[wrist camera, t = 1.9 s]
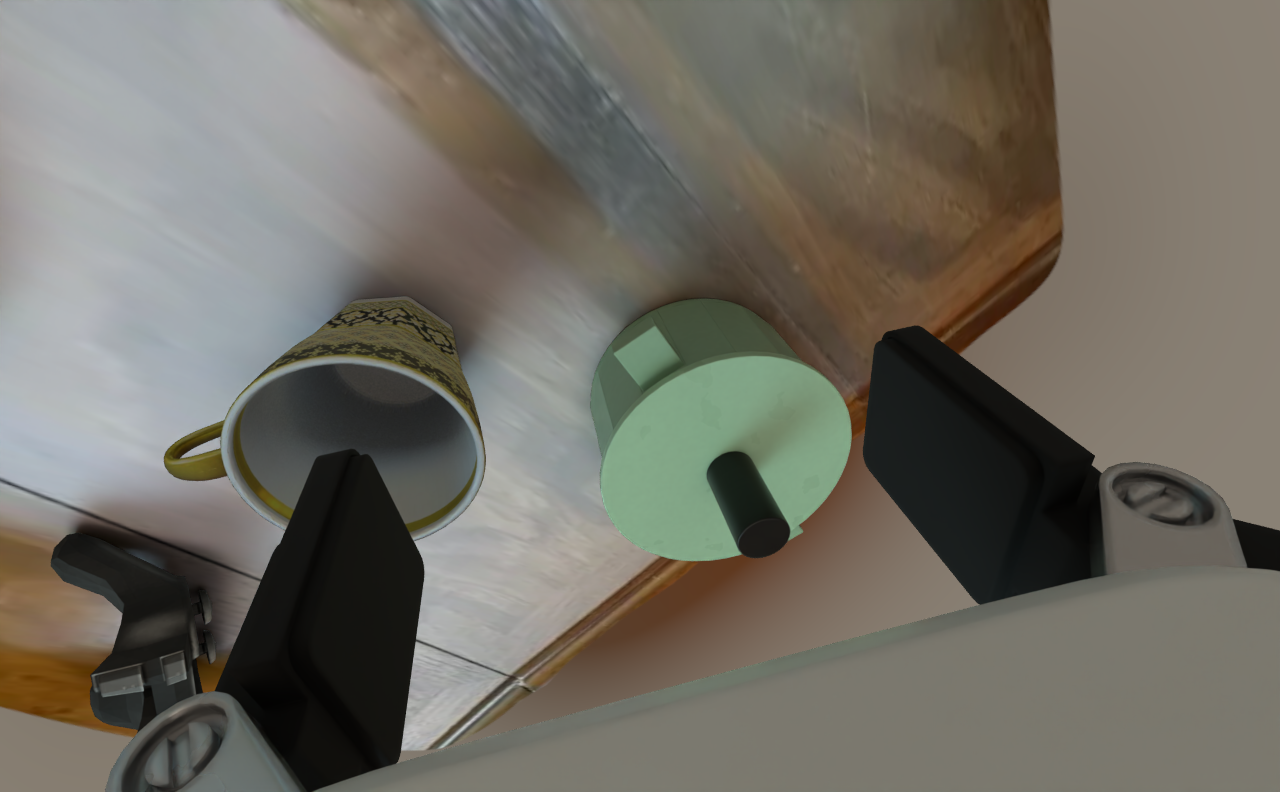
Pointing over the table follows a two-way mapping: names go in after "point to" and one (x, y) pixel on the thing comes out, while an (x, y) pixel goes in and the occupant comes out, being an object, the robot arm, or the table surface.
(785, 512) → the lid
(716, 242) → the table surface
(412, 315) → the ceramic cup
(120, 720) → the game controller
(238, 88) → the table surface
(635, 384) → the pot
